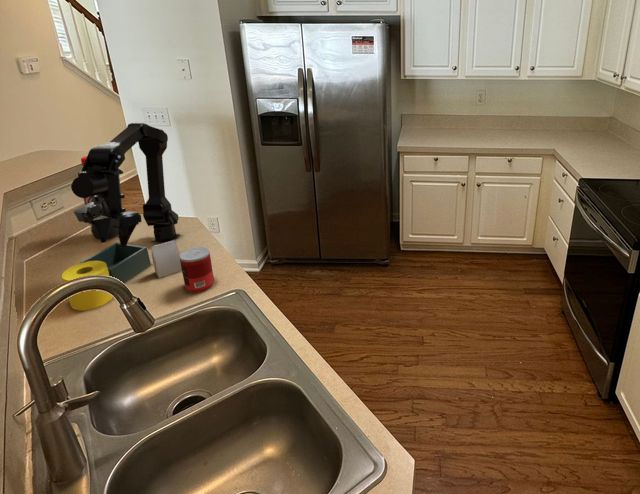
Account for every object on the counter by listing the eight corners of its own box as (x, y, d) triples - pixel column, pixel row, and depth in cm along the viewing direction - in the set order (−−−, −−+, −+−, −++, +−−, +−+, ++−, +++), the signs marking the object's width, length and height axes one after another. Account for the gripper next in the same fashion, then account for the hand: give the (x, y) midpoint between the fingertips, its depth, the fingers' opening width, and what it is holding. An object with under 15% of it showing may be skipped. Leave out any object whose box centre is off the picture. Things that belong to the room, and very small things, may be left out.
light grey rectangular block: (182, 270, 135) (177, 242, 132) (159, 278, 131) (152, 249, 128) (178, 265, 138) (173, 237, 134) (155, 273, 134) (149, 244, 130)
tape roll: (61, 306, 117) (52, 277, 114) (94, 286, 126) (86, 258, 123) (92, 313, 115) (83, 283, 112) (122, 291, 124) (115, 263, 121)
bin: (120, 260, 140) (116, 242, 138) (151, 265, 138) (147, 247, 135) (82, 283, 128) (77, 264, 125) (115, 289, 125) (110, 269, 123)
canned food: (220, 280, 131) (215, 249, 127) (200, 295, 124) (194, 262, 120) (199, 275, 133) (194, 244, 129) (179, 289, 126) (172, 257, 122)
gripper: (57, 193, 119) (63, 247, 121) (98, 199, 111) (104, 257, 113) (100, 187, 129) (104, 238, 131) (140, 193, 121) (144, 246, 123)
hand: (113, 244), depth 124 cm, fingers open, 9 cm apart
